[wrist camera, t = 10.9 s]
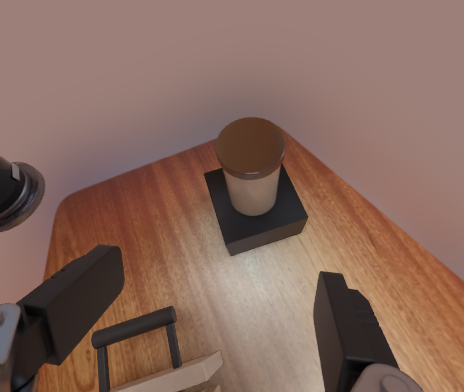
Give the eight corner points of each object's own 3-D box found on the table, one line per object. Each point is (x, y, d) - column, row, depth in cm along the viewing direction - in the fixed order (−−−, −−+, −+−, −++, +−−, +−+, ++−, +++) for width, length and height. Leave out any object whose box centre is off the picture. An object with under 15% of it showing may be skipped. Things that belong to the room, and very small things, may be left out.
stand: (230, 256, 31) (225, 244, 27) (210, 192, 35) (203, 173, 31) (301, 232, 32) (308, 217, 27) (274, 172, 36) (276, 150, 31)
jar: (236, 224, 28) (226, 183, 20) (221, 180, 30) (207, 128, 22) (286, 208, 28) (297, 160, 20) (267, 166, 30) (270, 108, 22)
